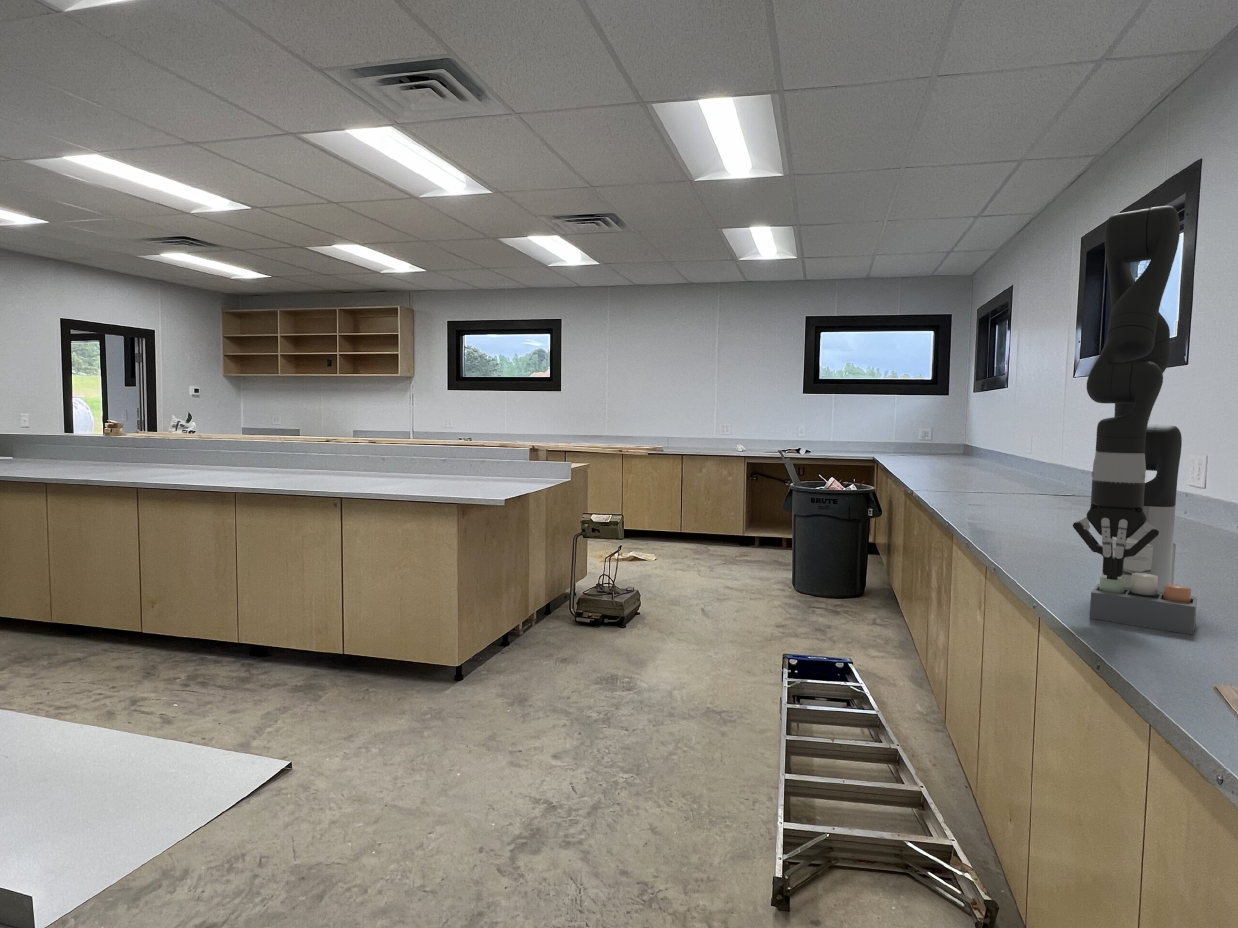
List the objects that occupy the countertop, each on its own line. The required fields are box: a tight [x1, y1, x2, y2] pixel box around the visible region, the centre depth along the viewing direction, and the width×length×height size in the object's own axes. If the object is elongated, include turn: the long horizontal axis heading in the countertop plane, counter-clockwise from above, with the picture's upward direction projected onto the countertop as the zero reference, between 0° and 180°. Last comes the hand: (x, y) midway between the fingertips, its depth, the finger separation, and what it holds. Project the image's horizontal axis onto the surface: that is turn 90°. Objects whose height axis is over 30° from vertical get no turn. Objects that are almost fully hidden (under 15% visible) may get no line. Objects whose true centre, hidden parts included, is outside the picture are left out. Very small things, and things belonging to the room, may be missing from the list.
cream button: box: [1131, 573, 1158, 595], centre depth 124 cm, size 4×4×3 cm
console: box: [1089, 583, 1198, 635], centre depth 125 cm, size 9×14×4 cm, turn 50°
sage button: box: [1099, 575, 1125, 594], centre depth 127 cm, size 4×4×3 cm
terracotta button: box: [1163, 584, 1192, 603], centre depth 121 cm, size 4×4×3 cm
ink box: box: [1101, 537, 1153, 588], centre depth 137 cm, size 9×5×12 cm, turn 168°
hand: (1112, 578), depth 127 cm, fingers closed
